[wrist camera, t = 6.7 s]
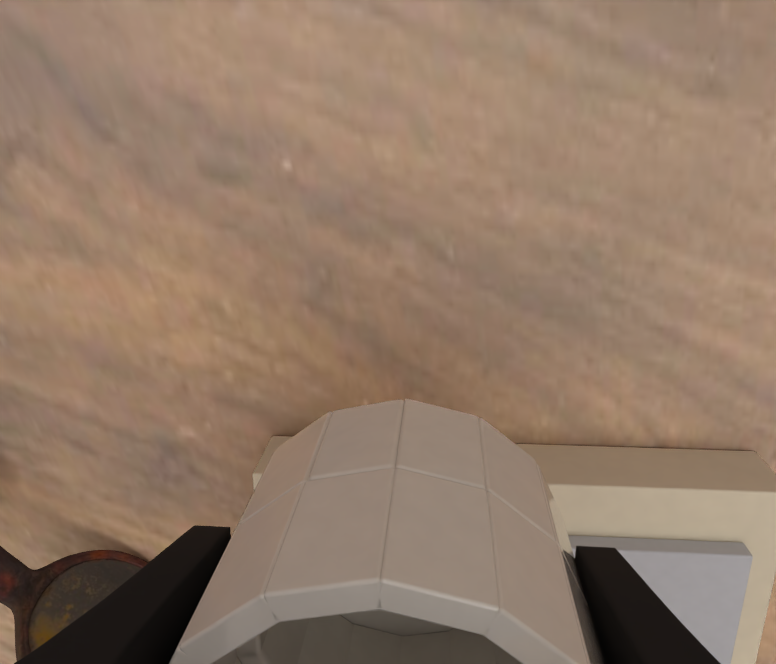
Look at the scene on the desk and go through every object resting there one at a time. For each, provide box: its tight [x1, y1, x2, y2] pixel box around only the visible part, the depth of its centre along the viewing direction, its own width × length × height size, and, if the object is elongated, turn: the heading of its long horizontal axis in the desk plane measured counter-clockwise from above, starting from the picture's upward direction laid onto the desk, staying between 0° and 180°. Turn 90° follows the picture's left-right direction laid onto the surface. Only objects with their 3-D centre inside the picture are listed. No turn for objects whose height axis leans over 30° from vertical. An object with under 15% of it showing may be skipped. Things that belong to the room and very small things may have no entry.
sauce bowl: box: [169, 399, 605, 664], centre depth 10 cm, size 6×6×5 cm
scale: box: [252, 436, 776, 664], centre depth 20 cm, size 14×13×3 cm
